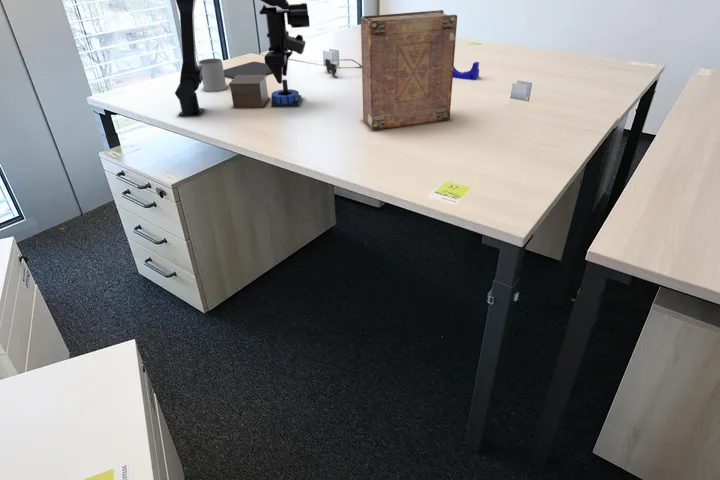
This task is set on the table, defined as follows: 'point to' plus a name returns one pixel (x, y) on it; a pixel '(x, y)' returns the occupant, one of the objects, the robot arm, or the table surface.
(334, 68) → the sunglasses
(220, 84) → the cup
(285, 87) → the peg stand
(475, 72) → the cable clip
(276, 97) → the ring
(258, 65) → the mouse pad
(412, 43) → the book
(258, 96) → the box
